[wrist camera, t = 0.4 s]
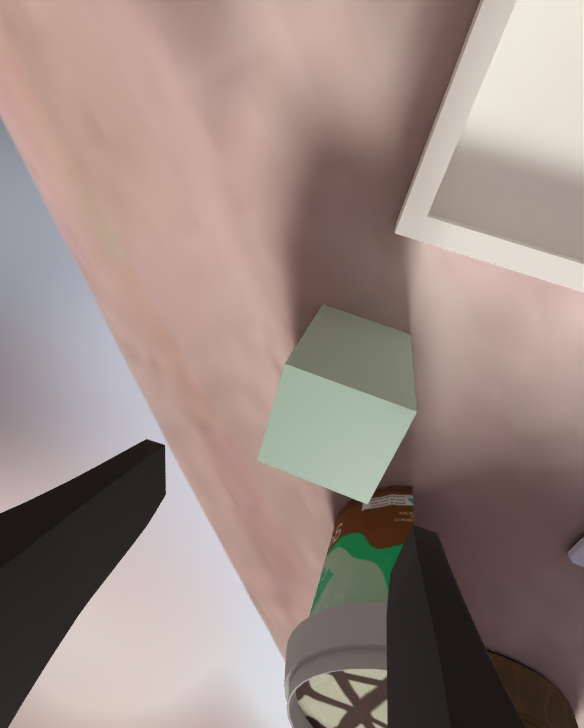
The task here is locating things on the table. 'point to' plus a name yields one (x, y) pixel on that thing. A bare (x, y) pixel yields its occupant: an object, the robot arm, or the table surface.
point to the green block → (342, 404)
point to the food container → (349, 619)
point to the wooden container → (533, 696)
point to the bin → (509, 145)
